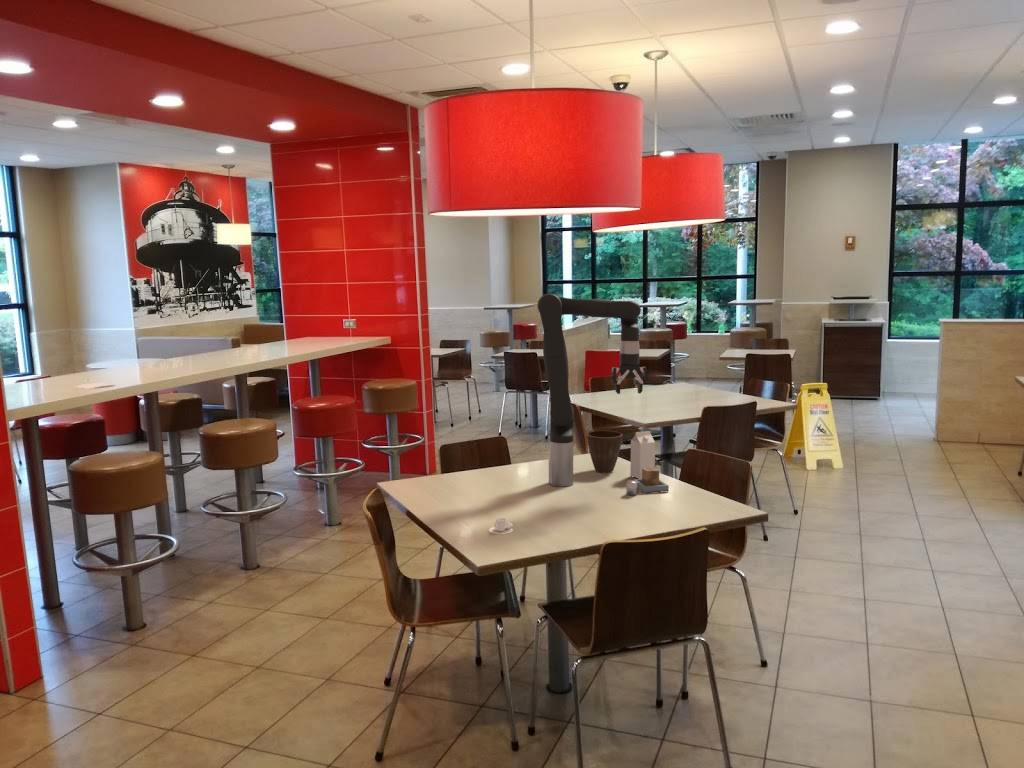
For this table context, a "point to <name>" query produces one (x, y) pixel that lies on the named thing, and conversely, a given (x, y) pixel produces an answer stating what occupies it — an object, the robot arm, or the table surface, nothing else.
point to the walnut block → (650, 476)
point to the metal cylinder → (631, 488)
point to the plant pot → (604, 449)
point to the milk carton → (642, 453)
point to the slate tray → (651, 487)
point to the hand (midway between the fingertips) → (628, 393)
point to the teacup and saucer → (501, 526)
